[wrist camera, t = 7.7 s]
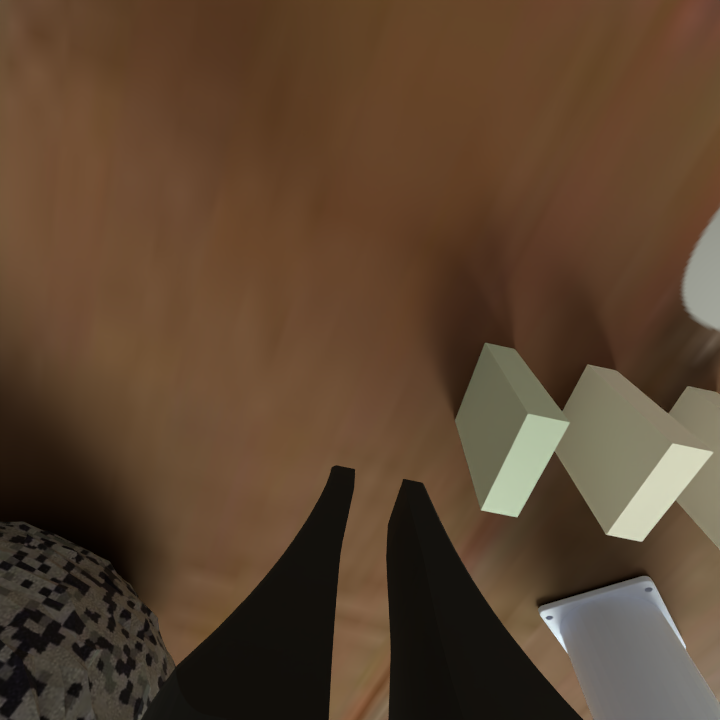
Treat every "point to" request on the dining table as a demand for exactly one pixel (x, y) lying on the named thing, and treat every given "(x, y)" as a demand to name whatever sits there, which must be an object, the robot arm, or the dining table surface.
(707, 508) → the tile
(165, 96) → the dining table surface
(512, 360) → the tile
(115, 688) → the bowl
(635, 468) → the tile
